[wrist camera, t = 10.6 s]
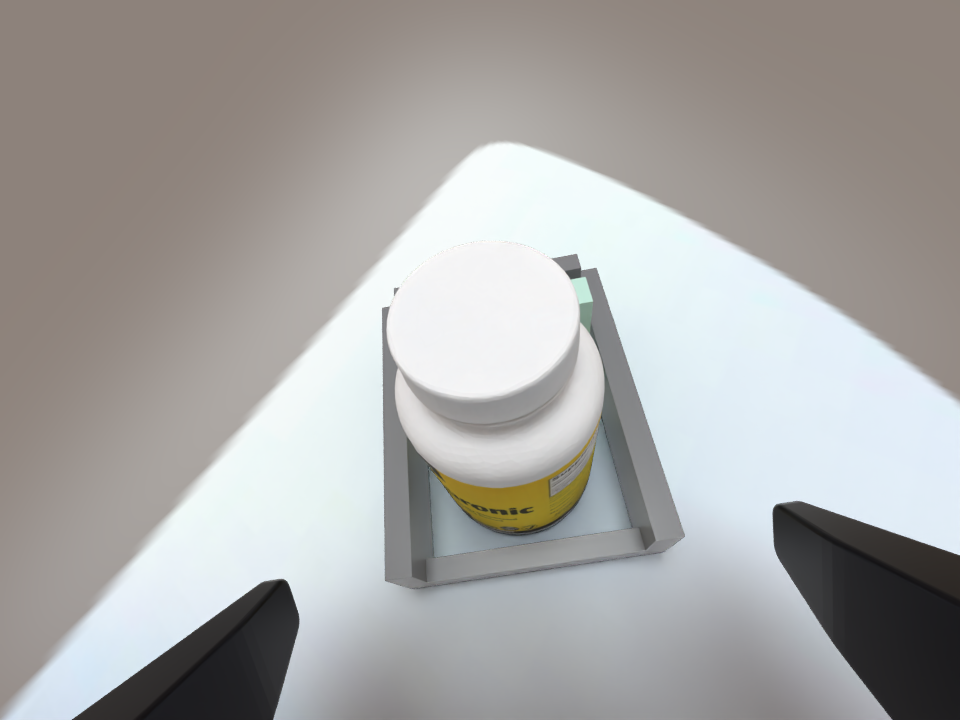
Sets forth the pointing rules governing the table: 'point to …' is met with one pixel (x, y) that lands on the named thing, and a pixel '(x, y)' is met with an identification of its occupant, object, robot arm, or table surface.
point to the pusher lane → (648, 535)
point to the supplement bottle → (498, 382)
